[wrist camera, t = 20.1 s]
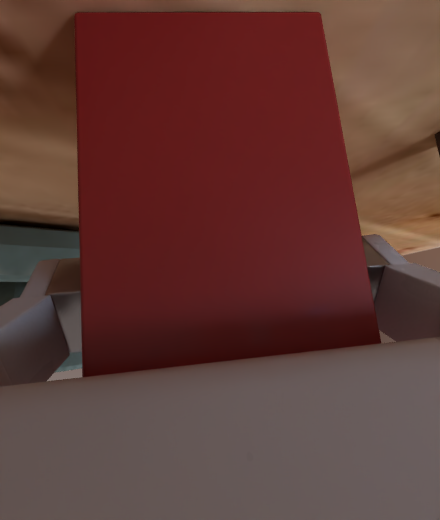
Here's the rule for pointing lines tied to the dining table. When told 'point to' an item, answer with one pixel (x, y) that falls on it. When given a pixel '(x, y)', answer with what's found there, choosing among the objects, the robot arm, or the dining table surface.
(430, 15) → the dining table surface
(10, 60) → the dining table surface
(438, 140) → the shelf
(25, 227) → the tea set
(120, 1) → the dining table surface
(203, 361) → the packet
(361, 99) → the dining table surface
